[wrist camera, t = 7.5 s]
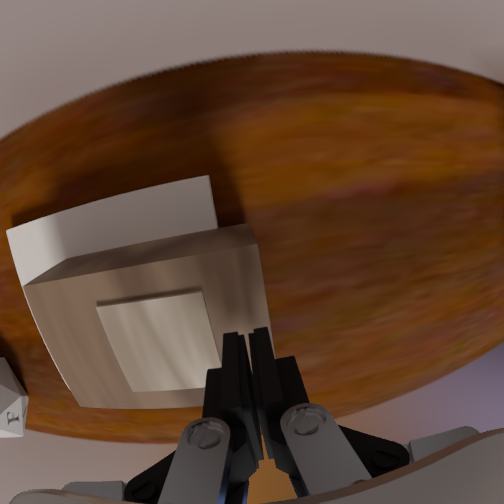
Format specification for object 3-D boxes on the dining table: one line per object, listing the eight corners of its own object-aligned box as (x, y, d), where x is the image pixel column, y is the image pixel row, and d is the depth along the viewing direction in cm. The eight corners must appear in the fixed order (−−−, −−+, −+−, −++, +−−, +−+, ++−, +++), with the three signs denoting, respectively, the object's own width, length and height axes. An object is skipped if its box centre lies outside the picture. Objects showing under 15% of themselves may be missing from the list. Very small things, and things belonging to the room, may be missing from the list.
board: (208, 175, 16) (207, 174, 15) (247, 372, 20) (248, 381, 19) (14, 227, 16) (6, 230, 15) (73, 383, 20) (69, 390, 19)
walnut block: (258, 245, 11) (20, 287, 11) (281, 397, 13) (79, 408, 13) (249, 222, 16) (66, 258, 16) (269, 343, 18) (105, 361, 18)
